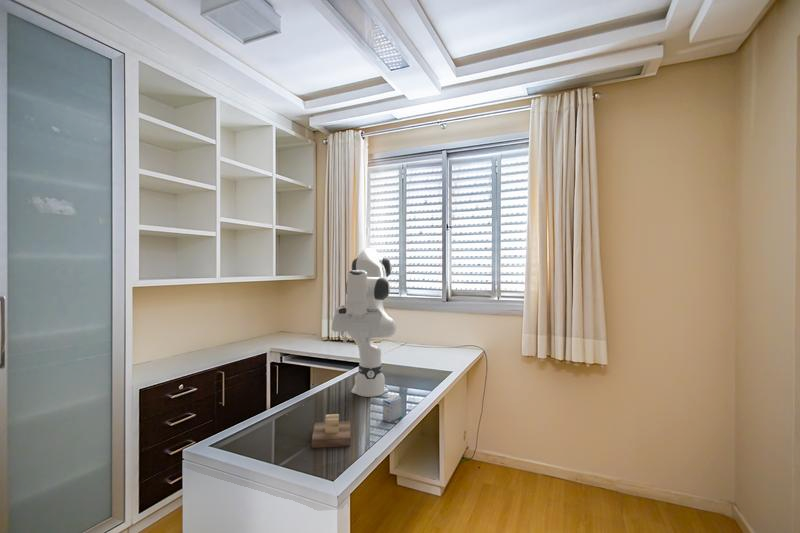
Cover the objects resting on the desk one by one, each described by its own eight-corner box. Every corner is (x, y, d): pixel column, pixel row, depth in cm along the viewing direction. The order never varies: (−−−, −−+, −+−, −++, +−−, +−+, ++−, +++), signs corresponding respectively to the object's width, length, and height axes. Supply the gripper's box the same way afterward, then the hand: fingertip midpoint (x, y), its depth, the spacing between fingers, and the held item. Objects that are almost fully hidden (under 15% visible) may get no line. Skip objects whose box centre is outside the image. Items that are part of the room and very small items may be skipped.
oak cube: (325, 427, 145) (326, 414, 145) (338, 426, 146) (339, 414, 146) (325, 433, 140) (325, 420, 140) (338, 432, 141) (338, 419, 141)
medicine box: (394, 414, 166) (394, 394, 166) (402, 417, 163) (402, 397, 163) (382, 419, 160) (382, 399, 160) (390, 422, 157) (390, 402, 157)
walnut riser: (315, 430, 149) (315, 422, 149) (350, 428, 151) (350, 421, 151) (311, 447, 135) (311, 439, 135) (350, 445, 137) (350, 437, 137)
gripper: (381, 307, 160) (380, 340, 160) (332, 307, 157) (332, 340, 157) (382, 309, 153) (381, 343, 154) (332, 309, 151) (331, 343, 151)
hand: (356, 341), depth 155 cm, fingers open, 8 cm apart
